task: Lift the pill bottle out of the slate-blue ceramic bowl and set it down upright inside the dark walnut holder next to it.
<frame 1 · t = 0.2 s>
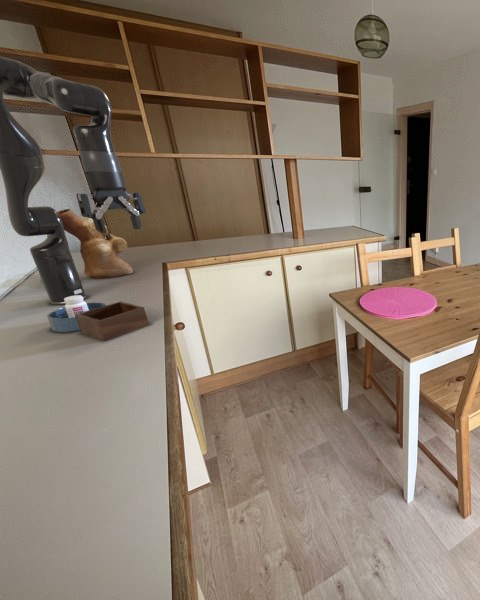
hand: (120, 230, 90), 29 cm above the counter, tool pointing down, fingers open, 8 cm apart
pill bottle: (82, 323, 98), resting on bowl
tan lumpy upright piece: (104, 276, 143), on the counter
holder: (116, 328, 95), on the counter
bowl: (82, 323, 98), on the counter
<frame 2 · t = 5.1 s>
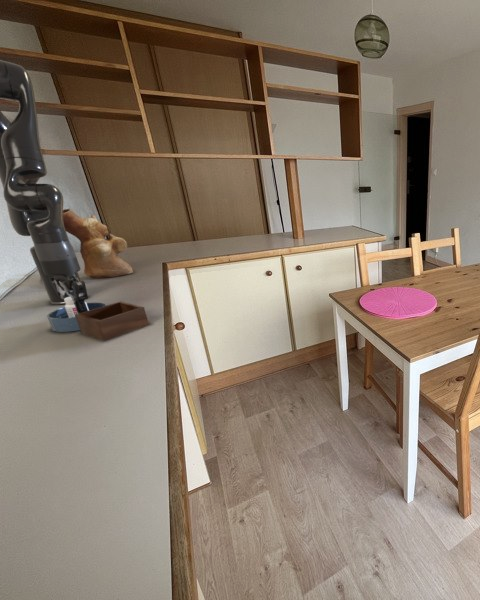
hand: (77, 310, 96), 4 cm above the counter, tool pointing down, fingers closed on pill bottle, 4 cm apart
pill bottle: (82, 323, 98), resting on bowl, touching gripper
everything else where it was.
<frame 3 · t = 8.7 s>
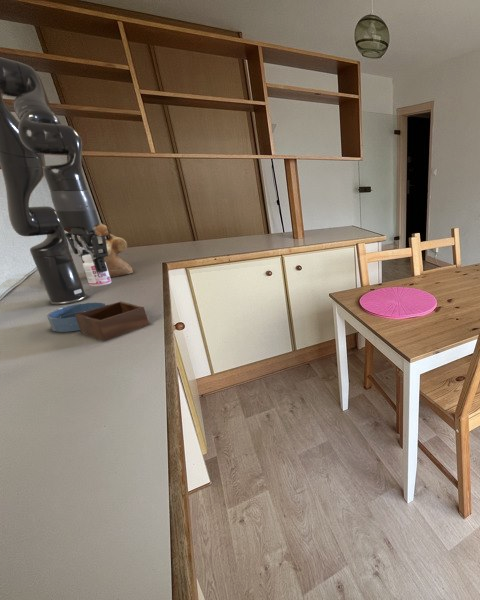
hand: (96, 270, 89), 18 cm above the counter, tool pointing down, fingers closed on pill bottle, 4 cm apart
pill bottle: (101, 284, 90), point 14 cm above the counter, touching gripper
everything else where it was.
when the fingers open (5 cm above the counter, at t = 12.7 s): pill bottle stays where it is, resting on holder.
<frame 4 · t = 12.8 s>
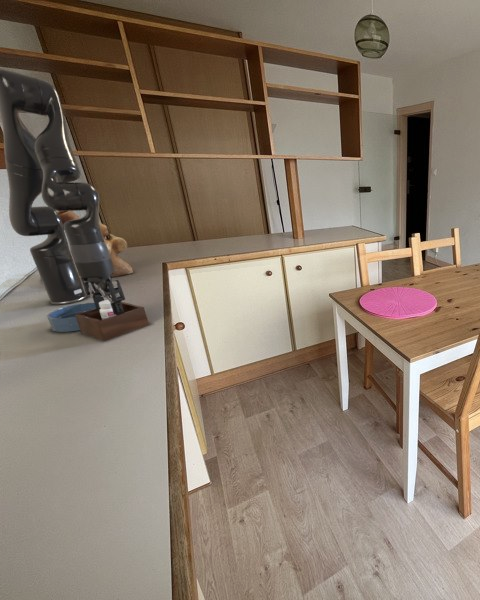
hand: (110, 311, 93), 6 cm above the counter, tool pointing down, fingers open, 8 cm apart
pill bottle: (116, 327, 95), resting on holder
everything else where it was.
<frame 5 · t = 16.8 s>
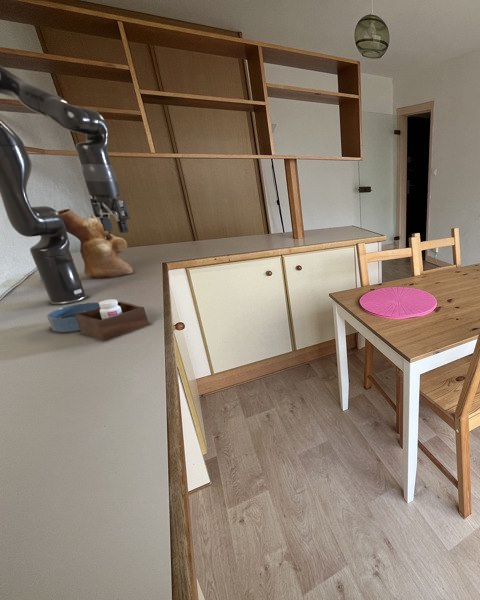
hand: (116, 231, 104), 26 cm above the counter, tool pointing down, fingers open, 8 cm apart
nothing on the counter moved.
at the end: pill bottle inside the target area in the holder (0.0 cm from its centre), point 0.3 cm above the holder's base; pill bottle tilted 0°; the gripper is holding nothing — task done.
